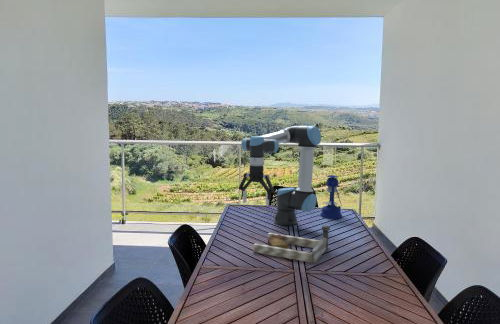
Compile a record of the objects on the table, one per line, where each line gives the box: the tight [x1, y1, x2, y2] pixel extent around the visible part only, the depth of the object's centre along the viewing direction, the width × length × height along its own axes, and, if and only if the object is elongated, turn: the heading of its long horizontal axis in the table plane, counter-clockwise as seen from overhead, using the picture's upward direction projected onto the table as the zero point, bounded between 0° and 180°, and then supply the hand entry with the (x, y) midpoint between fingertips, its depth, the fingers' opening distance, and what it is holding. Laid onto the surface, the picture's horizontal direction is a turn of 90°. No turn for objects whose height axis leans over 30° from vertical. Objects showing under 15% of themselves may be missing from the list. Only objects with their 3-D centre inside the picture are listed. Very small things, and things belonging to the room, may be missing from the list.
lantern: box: [319, 174, 343, 220], centre depth 259 cm, size 17×15×30 cm
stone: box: [267, 233, 289, 249], centre depth 197 cm, size 15×9×5 cm, turn 9°
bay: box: [252, 225, 331, 264], centre depth 193 cm, size 34×26×12 cm
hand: (255, 203), depth 198 cm, fingers open, 13 cm apart
